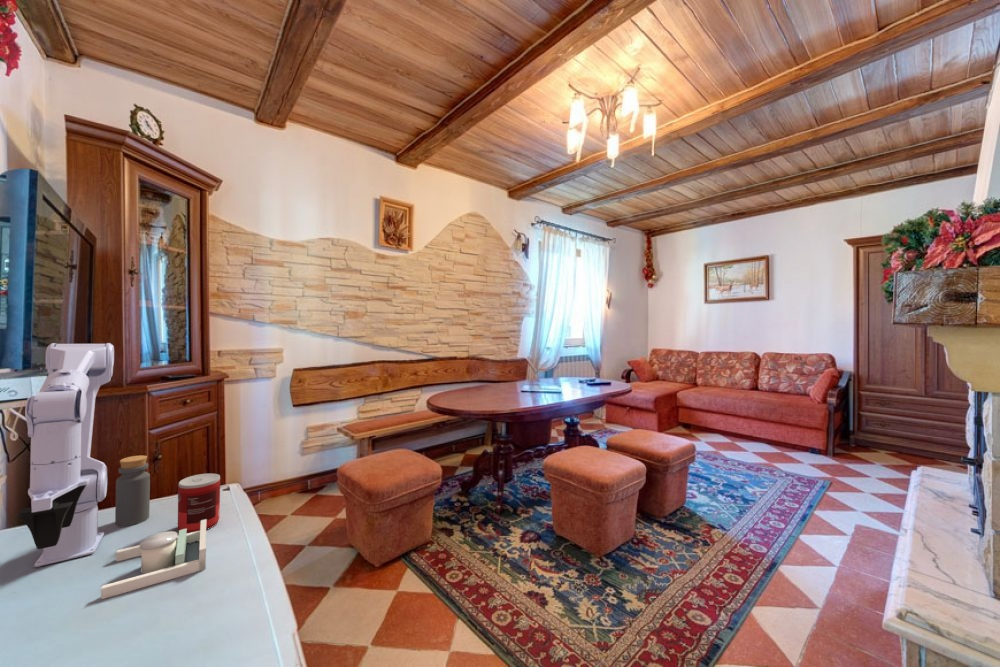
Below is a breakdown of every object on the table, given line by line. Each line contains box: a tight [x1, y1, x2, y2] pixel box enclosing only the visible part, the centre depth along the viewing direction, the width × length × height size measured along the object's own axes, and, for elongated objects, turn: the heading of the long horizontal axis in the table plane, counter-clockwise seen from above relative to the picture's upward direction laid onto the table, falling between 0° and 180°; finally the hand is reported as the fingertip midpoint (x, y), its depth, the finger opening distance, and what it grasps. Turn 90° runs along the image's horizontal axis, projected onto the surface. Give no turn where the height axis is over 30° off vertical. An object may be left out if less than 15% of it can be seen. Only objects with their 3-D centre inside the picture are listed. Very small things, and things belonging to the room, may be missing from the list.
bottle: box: [114, 455, 151, 528], centre depth 90 cm, size 6×6×15 cm
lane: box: [100, 519, 207, 600], centre depth 74 cm, size 14×14×4 cm
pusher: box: [174, 528, 187, 566], centre depth 75 cm, size 11×1×3 cm, turn 38°
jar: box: [139, 530, 178, 574], centre depth 73 cm, size 5×5×5 cm
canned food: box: [177, 473, 221, 533], centre depth 88 cm, size 8×8×11 cm
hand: (54, 536), depth 66 cm, fingers open, 7 cm apart
